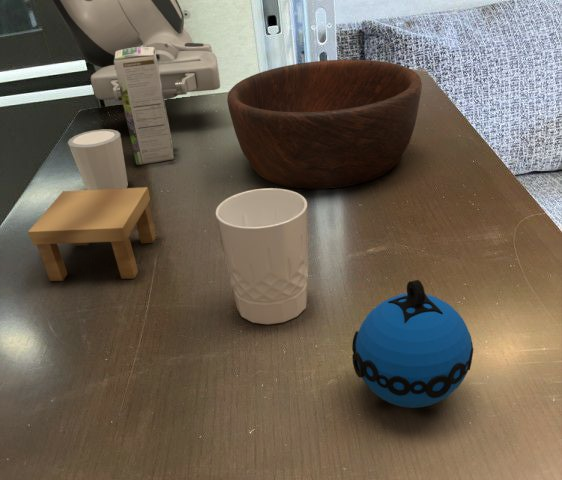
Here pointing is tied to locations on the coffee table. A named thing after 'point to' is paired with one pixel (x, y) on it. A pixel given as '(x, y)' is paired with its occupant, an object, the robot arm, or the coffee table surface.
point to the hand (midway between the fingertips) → (149, 91)
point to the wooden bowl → (325, 121)
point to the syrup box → (144, 104)
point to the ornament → (412, 349)
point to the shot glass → (100, 159)
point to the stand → (94, 226)
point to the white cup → (266, 252)
